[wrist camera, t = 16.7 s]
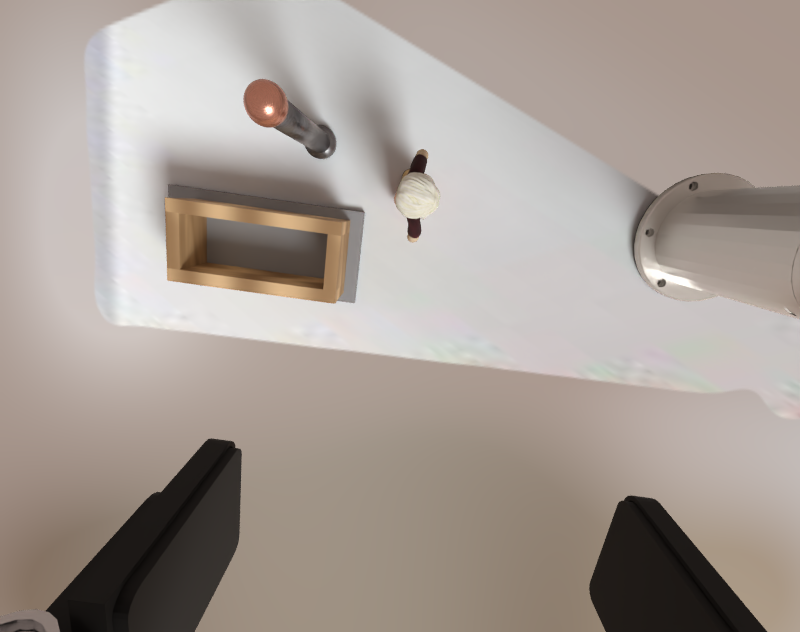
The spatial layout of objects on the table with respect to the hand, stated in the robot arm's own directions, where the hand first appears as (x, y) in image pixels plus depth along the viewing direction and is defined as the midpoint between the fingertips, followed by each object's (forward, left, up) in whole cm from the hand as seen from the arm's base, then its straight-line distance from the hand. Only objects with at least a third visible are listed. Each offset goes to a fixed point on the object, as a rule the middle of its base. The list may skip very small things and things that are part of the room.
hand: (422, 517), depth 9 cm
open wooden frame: (+15, -1, -33) cm, 36 cm away
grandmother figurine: (+1, -8, -34) cm, 34 cm away
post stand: (+11, -12, -33) cm, 37 cm away
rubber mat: (+16, -1, -33) cm, 37 cm away
